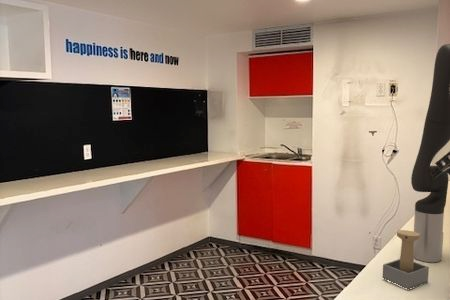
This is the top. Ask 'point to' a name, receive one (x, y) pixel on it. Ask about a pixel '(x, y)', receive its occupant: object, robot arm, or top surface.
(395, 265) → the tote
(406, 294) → the top surface
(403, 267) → the handle
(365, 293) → the top surface
